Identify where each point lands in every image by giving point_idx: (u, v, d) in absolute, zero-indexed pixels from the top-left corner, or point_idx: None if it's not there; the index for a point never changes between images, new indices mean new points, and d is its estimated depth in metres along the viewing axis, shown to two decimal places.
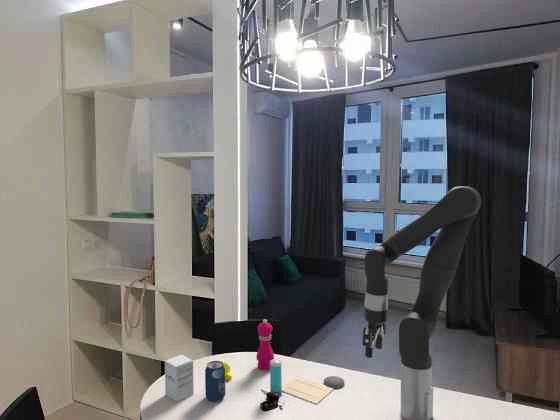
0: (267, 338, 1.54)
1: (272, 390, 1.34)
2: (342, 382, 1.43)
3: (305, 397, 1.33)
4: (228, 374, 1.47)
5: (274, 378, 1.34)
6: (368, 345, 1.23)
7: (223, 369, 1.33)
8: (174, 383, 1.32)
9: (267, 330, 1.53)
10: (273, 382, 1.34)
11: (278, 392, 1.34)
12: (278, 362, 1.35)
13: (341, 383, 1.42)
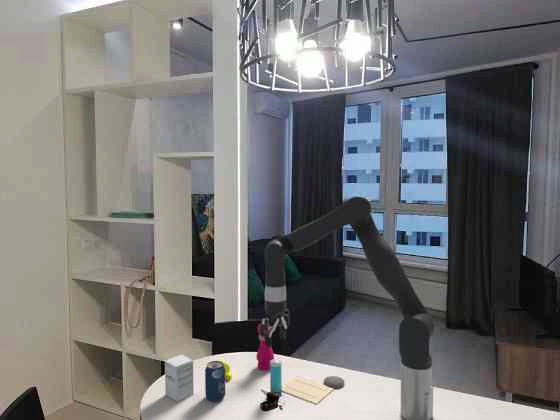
0: None
1: (272, 390, 1.34)
2: (342, 382, 1.43)
3: (305, 397, 1.33)
4: (228, 374, 1.47)
5: (274, 378, 1.34)
6: (265, 335, 1.29)
7: (223, 369, 1.33)
8: (174, 383, 1.32)
9: None
10: (273, 382, 1.34)
11: (278, 392, 1.34)
12: (278, 362, 1.35)
13: (341, 383, 1.42)
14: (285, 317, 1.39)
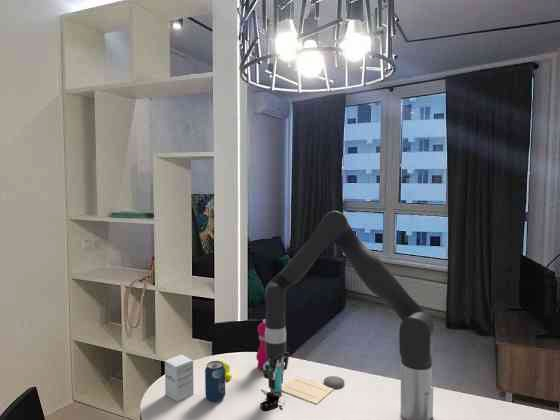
0: None
1: (272, 390, 1.34)
2: (342, 382, 1.43)
3: (305, 397, 1.33)
4: (228, 374, 1.47)
5: None
6: (269, 378, 1.31)
7: (223, 369, 1.33)
8: (174, 383, 1.32)
9: None
10: None
11: (278, 392, 1.34)
12: None
13: (341, 383, 1.42)
14: (284, 360, 1.39)
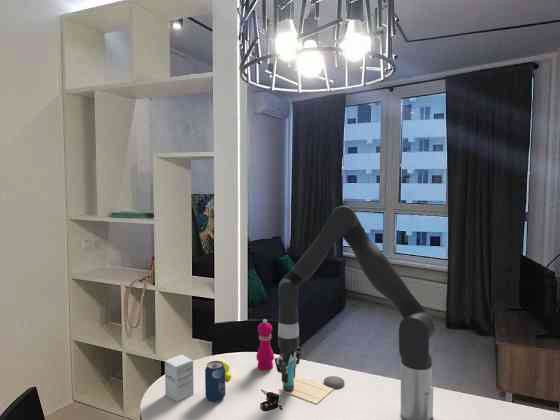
0: (267, 338, 1.54)
1: (285, 384, 1.37)
2: (342, 382, 1.43)
3: (305, 397, 1.33)
4: (227, 374, 1.47)
5: None
6: (282, 372, 1.34)
7: (223, 369, 1.33)
8: (174, 383, 1.32)
9: (267, 330, 1.53)
10: None
11: (291, 386, 1.37)
12: None
13: (341, 383, 1.42)
14: (296, 354, 1.42)
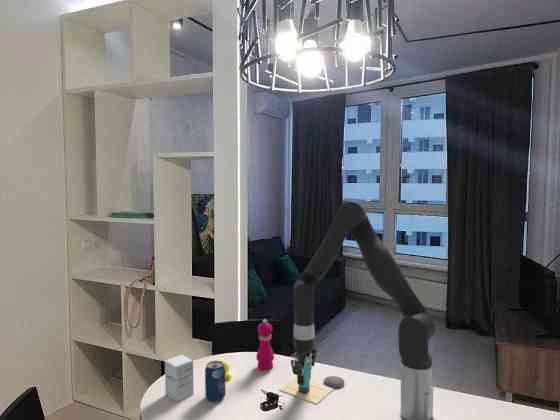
0: (267, 338, 1.54)
1: (300, 386, 1.37)
2: (342, 382, 1.43)
3: (305, 397, 1.33)
4: (227, 374, 1.47)
5: None
6: (298, 374, 1.33)
7: (223, 369, 1.33)
8: (174, 383, 1.32)
9: (267, 330, 1.53)
10: None
11: (307, 388, 1.36)
12: None
13: (341, 383, 1.42)
14: (311, 356, 1.41)
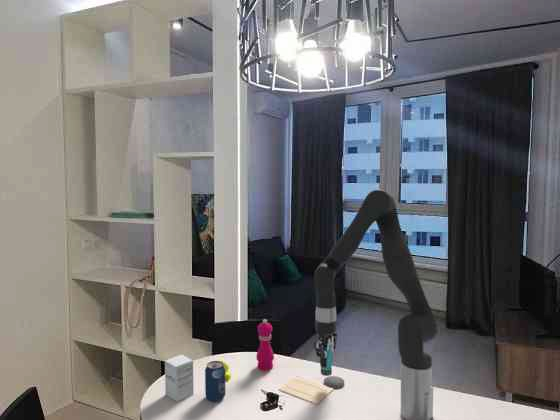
0: (267, 338, 1.54)
1: (323, 368, 1.38)
2: (342, 382, 1.43)
3: (305, 397, 1.33)
4: (226, 373, 1.47)
5: None
6: (321, 356, 1.35)
7: (223, 369, 1.33)
8: (174, 383, 1.32)
9: (267, 330, 1.53)
10: None
11: (329, 371, 1.38)
12: None
13: (341, 383, 1.42)
14: (332, 339, 1.43)
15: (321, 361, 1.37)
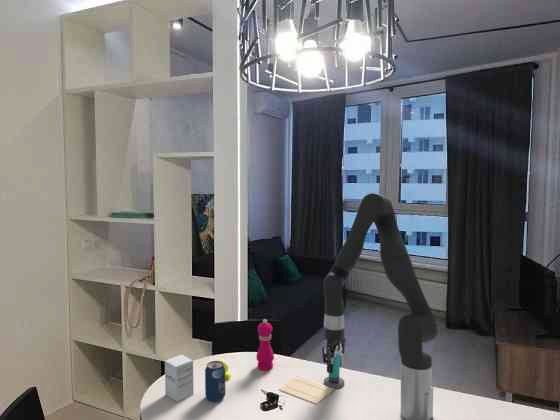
0: (267, 338, 1.54)
1: (331, 376, 1.42)
2: (342, 382, 1.43)
3: (305, 397, 1.33)
4: (226, 373, 1.47)
5: (333, 365, 1.41)
6: (328, 362, 1.38)
7: (223, 369, 1.33)
8: (174, 383, 1.32)
9: (267, 330, 1.53)
10: None
11: (337, 379, 1.42)
12: (337, 350, 1.42)
13: (341, 383, 1.42)
14: (341, 344, 1.47)
15: (328, 367, 1.40)
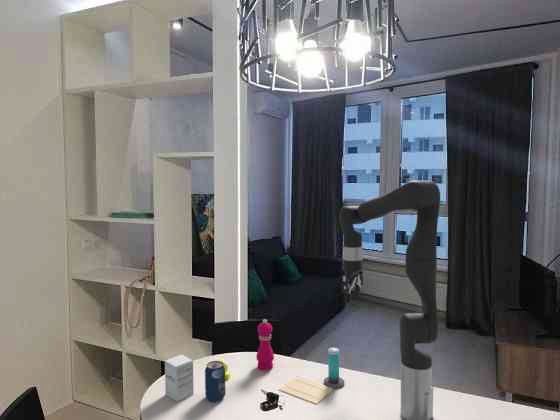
0: (267, 338, 1.54)
1: (331, 377, 1.42)
2: (342, 382, 1.43)
3: (305, 397, 1.33)
4: (226, 373, 1.47)
5: (333, 365, 1.41)
6: (346, 290, 1.41)
7: (223, 369, 1.33)
8: (174, 383, 1.32)
9: (267, 330, 1.53)
10: (332, 369, 1.42)
11: (337, 379, 1.42)
12: (336, 350, 1.42)
13: (341, 383, 1.42)
14: None
15: (345, 296, 1.43)
